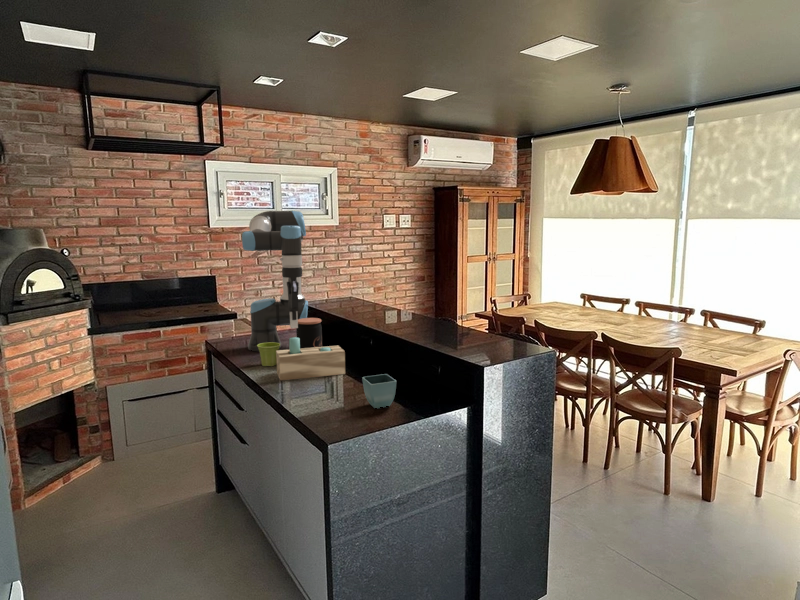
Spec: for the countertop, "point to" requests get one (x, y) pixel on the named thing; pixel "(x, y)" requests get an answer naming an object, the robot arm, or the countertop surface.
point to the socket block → (310, 363)
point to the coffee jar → (309, 332)
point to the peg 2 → (325, 349)
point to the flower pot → (379, 390)
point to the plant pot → (268, 353)
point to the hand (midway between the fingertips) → (294, 327)
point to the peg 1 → (294, 345)
